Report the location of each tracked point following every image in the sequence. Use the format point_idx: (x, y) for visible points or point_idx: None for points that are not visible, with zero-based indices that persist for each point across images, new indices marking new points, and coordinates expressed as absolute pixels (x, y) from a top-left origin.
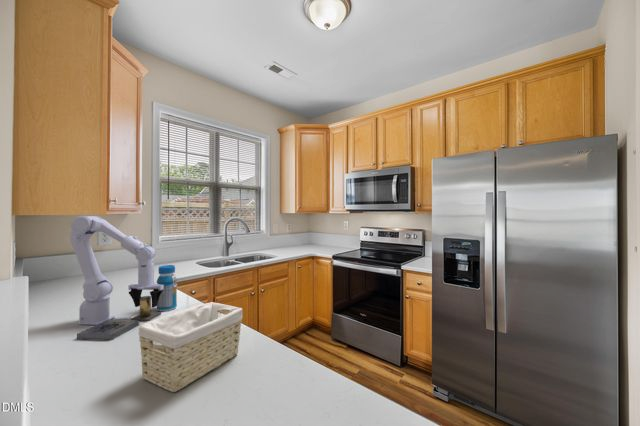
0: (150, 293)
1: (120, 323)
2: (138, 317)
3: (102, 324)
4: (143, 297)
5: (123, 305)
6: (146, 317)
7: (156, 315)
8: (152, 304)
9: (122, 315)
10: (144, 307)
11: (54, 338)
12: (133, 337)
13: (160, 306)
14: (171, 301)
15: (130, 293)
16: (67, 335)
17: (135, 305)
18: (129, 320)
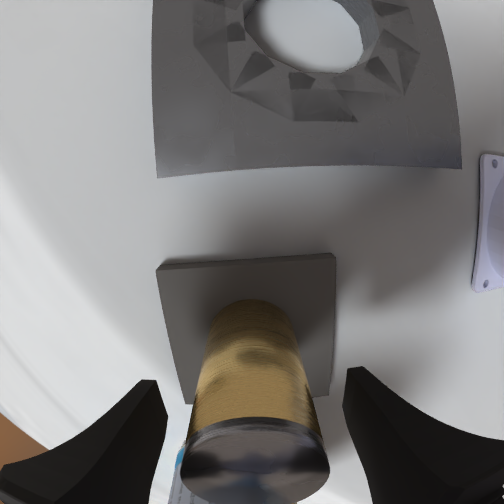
0: (54, 491)
1: (276, 75)
2: (285, 299)
3: (416, 61)
4: (274, 474)
5: (490, 419)
6: (211, 308)
7: (175, 359)
8: (135, 396)
9: (450, 332)
10: (219, 358)
11: (498, 7)
12: (64, 19)
13: None
14: (172, 490)
15: (487, 455)
16: (488, 26)
17: (362, 374)
18: (251, 155)
